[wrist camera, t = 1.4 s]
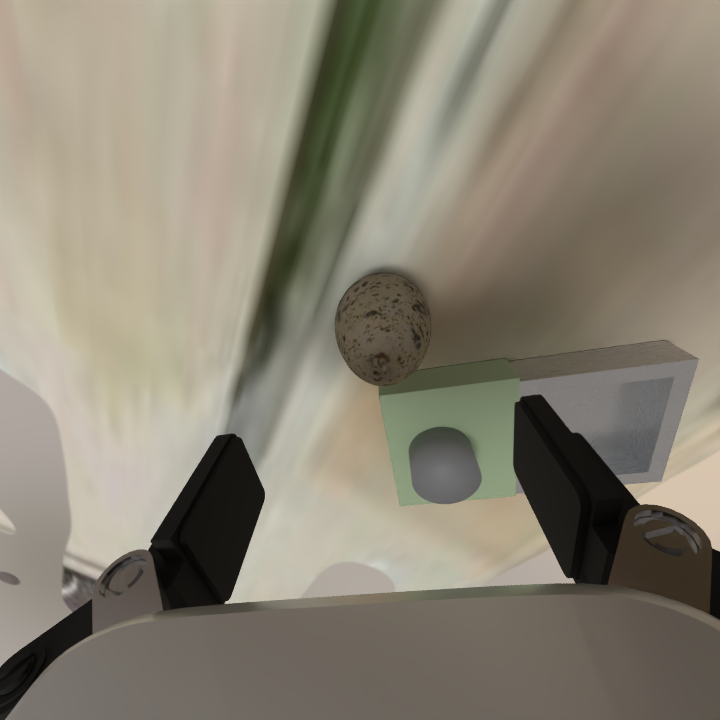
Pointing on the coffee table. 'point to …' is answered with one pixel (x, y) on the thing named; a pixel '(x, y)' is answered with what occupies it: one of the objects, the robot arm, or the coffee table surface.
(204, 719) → the robot arm
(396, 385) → the deck
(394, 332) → the decorative egg
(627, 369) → the tray
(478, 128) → the coffee table surface
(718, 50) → the coffee table surface
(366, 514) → the coffee table surface
